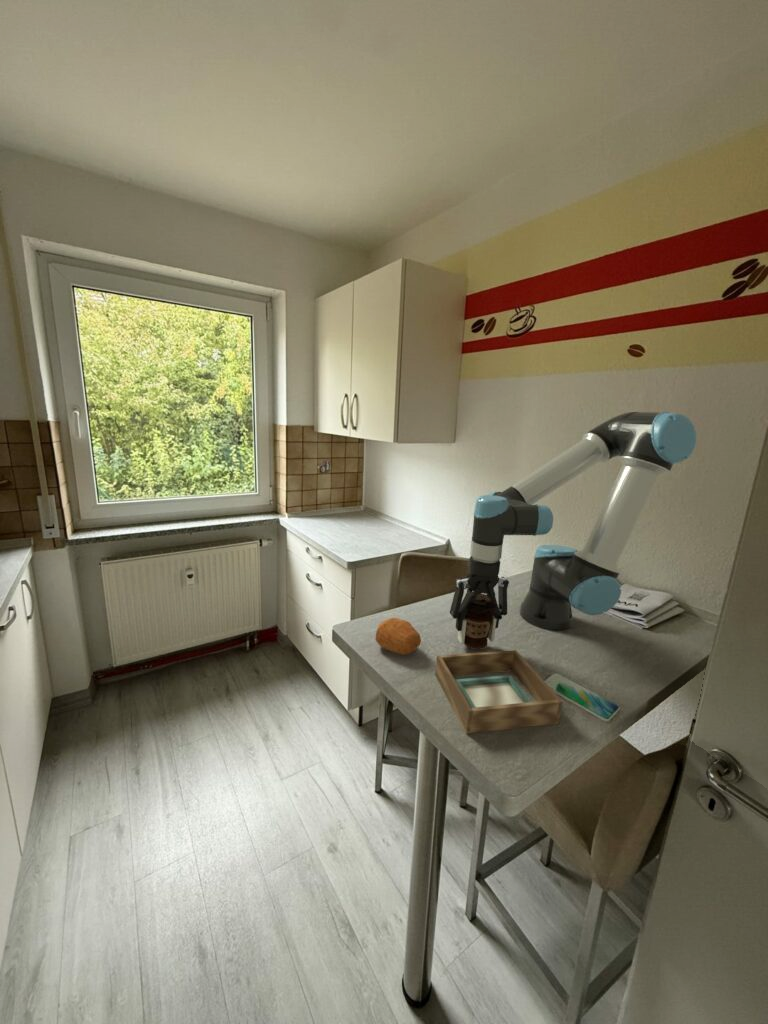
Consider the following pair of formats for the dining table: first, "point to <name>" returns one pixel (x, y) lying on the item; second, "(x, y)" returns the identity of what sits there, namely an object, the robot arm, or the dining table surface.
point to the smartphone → (582, 697)
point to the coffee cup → (479, 621)
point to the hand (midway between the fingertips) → (475, 639)
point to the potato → (397, 636)
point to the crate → (496, 692)
